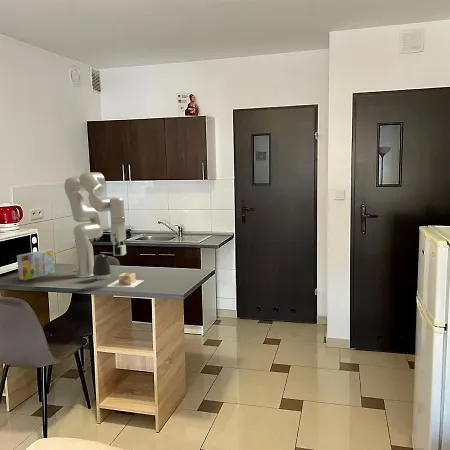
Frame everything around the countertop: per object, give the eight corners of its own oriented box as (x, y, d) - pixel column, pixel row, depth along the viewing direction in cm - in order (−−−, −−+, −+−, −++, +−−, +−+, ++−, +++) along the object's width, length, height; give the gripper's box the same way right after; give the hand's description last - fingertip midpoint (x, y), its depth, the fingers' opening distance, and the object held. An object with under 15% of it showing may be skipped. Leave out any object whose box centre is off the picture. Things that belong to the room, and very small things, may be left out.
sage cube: (113, 255, 250) (113, 246, 250) (117, 253, 255) (117, 244, 255) (122, 255, 249) (121, 246, 249) (126, 253, 254) (125, 244, 253)
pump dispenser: (102, 282, 262) (101, 256, 260) (89, 280, 267) (88, 254, 265) (115, 278, 271) (114, 253, 269) (102, 276, 276) (100, 251, 274)
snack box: (49, 272, 292) (48, 249, 290) (55, 273, 288) (53, 249, 287) (18, 279, 275) (16, 254, 273) (23, 280, 271) (21, 255, 269)
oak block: (118, 284, 252) (118, 275, 251) (124, 281, 259) (123, 272, 258) (130, 285, 250) (130, 276, 250) (135, 281, 257) (135, 273, 257)
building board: (106, 288, 249) (106, 286, 249) (118, 281, 264) (117, 279, 264) (134, 288, 246) (134, 287, 246) (144, 282, 260) (144, 280, 260)
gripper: (118, 219, 259) (120, 251, 261) (104, 222, 243) (106, 256, 245) (130, 218, 257) (132, 251, 260) (117, 222, 241) (119, 256, 243)
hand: (120, 253), depth 252 cm, fingers closed on sage cube, 4 cm apart
